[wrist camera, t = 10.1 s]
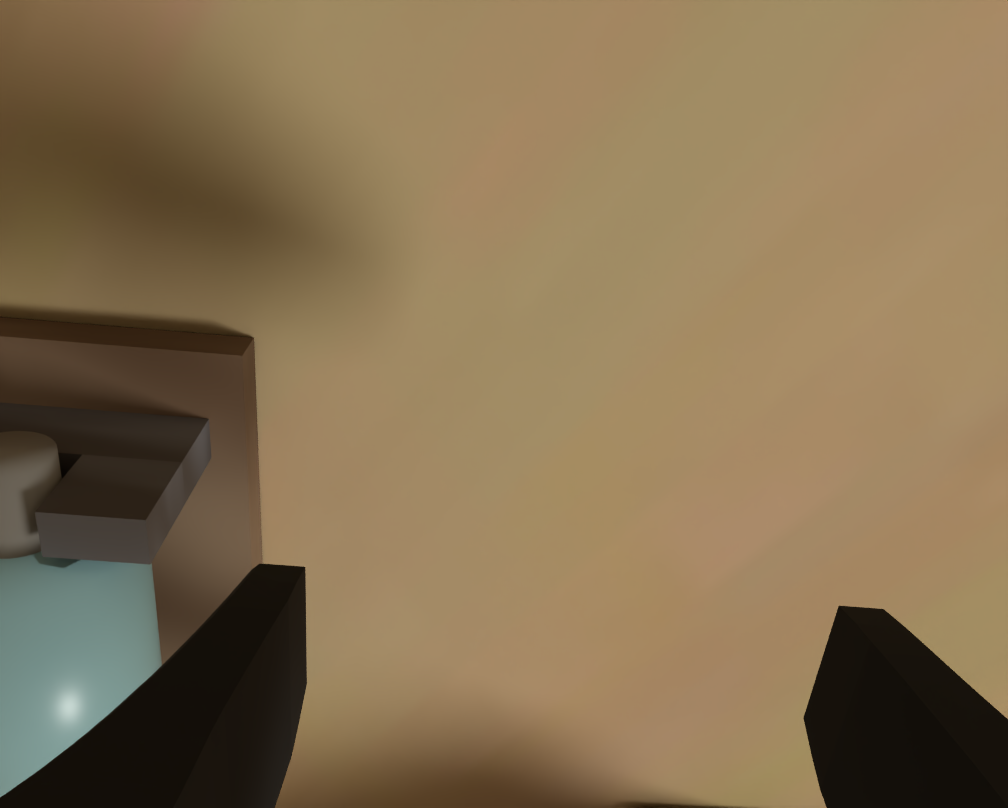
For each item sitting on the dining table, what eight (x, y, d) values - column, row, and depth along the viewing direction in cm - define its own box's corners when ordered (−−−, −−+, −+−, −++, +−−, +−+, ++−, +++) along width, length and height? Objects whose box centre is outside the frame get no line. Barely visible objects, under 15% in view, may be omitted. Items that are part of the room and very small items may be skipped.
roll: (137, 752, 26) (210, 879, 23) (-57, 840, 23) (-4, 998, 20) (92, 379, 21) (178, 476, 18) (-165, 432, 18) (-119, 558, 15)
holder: (270, 780, 27) (223, 947, 22) (-44, 759, 27) (-155, 925, 22) (254, 337, 21) (183, 447, 16) (-157, 304, 20) (-345, 406, 16)
